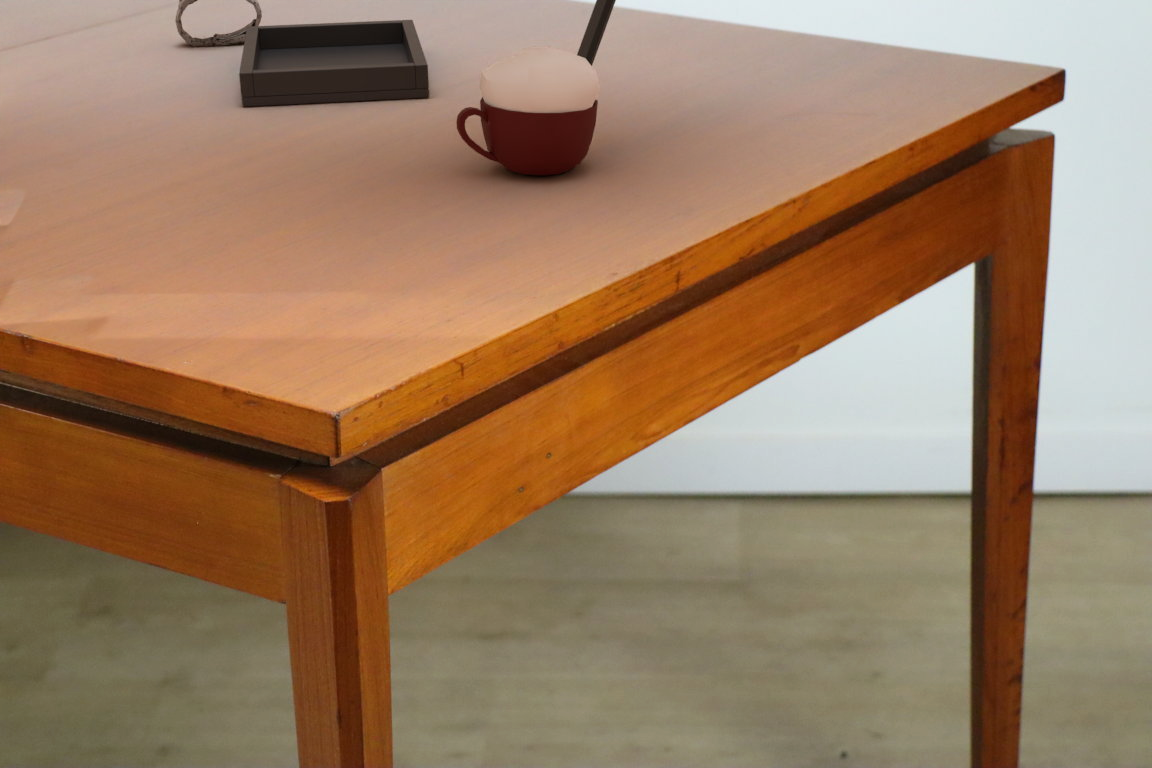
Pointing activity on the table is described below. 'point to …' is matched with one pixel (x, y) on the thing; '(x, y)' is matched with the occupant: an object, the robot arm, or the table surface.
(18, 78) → the table surface
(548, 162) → the cocoa
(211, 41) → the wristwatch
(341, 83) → the dark rectangular tray
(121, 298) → the table surface
